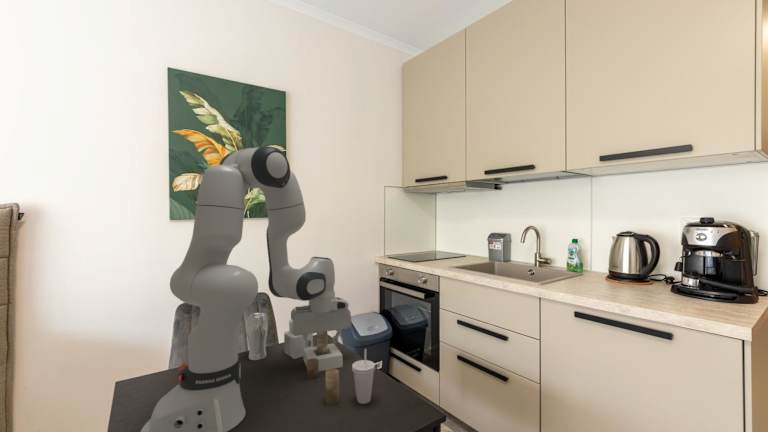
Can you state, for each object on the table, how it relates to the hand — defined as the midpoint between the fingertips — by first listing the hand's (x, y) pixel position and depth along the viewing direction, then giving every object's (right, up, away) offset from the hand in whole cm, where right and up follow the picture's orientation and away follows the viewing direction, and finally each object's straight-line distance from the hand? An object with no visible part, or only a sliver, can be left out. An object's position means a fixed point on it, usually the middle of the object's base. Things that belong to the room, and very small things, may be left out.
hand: (322, 344), depth 114 cm
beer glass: (-24, -7, +6) cm, 26 cm away
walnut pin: (-1, -7, -9) cm, 12 cm away
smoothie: (+16, -7, -23) cm, 28 cm away
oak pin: (+7, -7, -23) cm, 25 cm away
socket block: (0, -7, 0) cm, 7 cm away
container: (-10, -7, +9) cm, 15 cm away
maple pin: (0, -7, 0) cm, 7 cm away
